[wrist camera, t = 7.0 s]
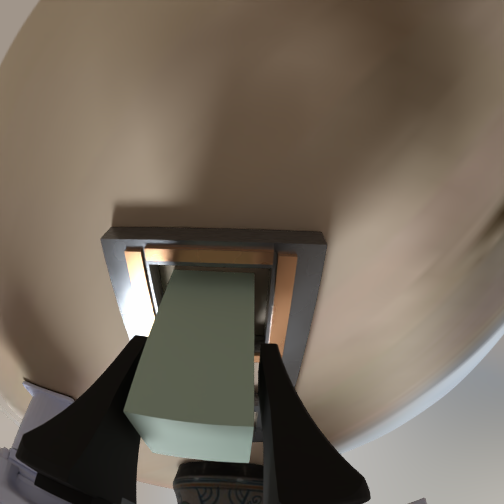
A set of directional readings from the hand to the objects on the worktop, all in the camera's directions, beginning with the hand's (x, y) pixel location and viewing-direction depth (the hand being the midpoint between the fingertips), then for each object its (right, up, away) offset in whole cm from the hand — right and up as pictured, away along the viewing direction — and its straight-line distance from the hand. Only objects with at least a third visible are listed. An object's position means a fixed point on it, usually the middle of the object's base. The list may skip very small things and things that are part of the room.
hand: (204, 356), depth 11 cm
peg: (0, +2, +4) cm, 4 cm away
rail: (0, -4, +7) cm, 8 cm away
